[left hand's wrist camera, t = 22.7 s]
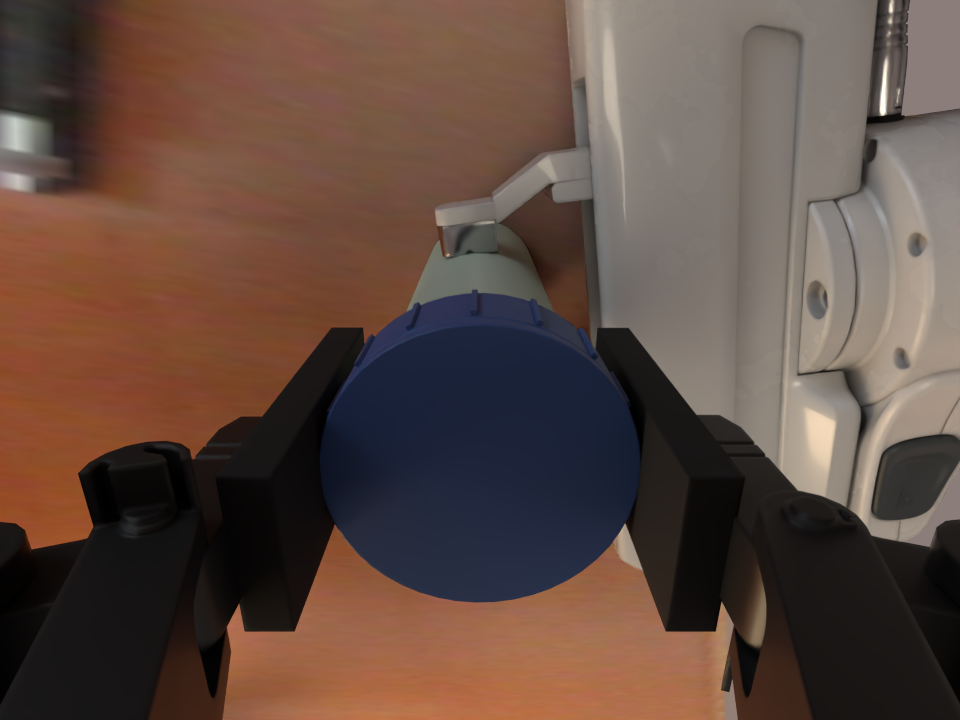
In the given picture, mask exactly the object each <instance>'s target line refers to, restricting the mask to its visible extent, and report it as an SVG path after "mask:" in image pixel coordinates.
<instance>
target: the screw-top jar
mask: <svg viewBox="0 0 960 720" xmlns="http://www.w3.org/2000/svg"><path fill="white" fill-rule="evenodd" d="M496 230H497V239H498V248H499V251H494V252H488V253H475V252H473V251H471V250H469V251H468V252H467V253H466V254H464V255H462V256H458V257H443V256H442V250H441V245H440V240H438V242H437V243H436V245H435V246H434V248H433V250H432V252H431V255H430V257H429V259H428V262H427V264H426V266H425V269H424V271H423V274H422V276H421V278H420V281H419V283H418V285H417V288H416V290H415V292H414V295H413V297H412V299H411V302H410V304H409V306H408V309H407V311H409V310H411V309H412V308H413V305H414V304H415V303H417V302H419V303H420V305H422V304H424V303H427V302H430V301H433V300H436V299H440V298H443V297H447V296H453V295H459V294H466V293H472V290H473V289H477V290H478V293H491V294H502V295H508V296H512V297H517V298H521V299H525V300H527V301H530V300H531V298H533V299H536V300H537V303H538V305H541V306H543V307H545V308H547V309H549V310H551V311H552V312H554V310H553V308H552V306H551V303H550V301H549V298H548V296H547V294H546V291H545V289H544V287H543V284H542V282H541V280H540V277H539V275H538V273H537V270H536V268H535V265H534V263H533V261H532V258H531V256H530V254H529V251H528V249H527V247H526V246H525V244H524V242H523V241H522V240H521V239H520V237H519V236H518V235H517V234H516V233H514V232H513V231H512V230H511V229H509V228H508V227H506V226H504V225H502V224H499V223H498V224H497V223H496ZM407 311H406V312H407Z"/></svg>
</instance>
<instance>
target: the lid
mask: <svg viewBox="0 0 960 720" xmlns="http://www.w3.org/2000/svg"><path fill="white" fill-rule="evenodd" d="M354 365H355V366H354V367H353V369H352V371H351V373H350V375H349V376H348V378H347V380H344V381H343V383H342V385H341V386H340V388H339V390H338V392H337V393H336V395H335V397H334V399H333V401H332V402H331V404H330V406H329V408H328V409H327V411H326V415H325V416H328V417H327V420H326V423H325V426H324V429H323V432H322V436H321V443H320V450H319V462H320V472H321V481H322V489H323V495H324V499H325V502H326V505H327V508H328V510H329V512H330V514H331V517H332V519H333V521H334V523H335V525H336V526H337V528H338V529H339V531H340V532H341V534H342V535H343V537H344V538H345V540H346V541H347V542H348V543H349V544H350V546H351V547H352V548H353V549H354V550H355V551H356V553H357V554H358V555H360V556H361V557H362V558H363V559H364V560H365V561H366V562H367V563H368V564H370V565H371V566H372V567H374V568H375V569H376V570H378V571H379V572H381V573H382V574H383V575H385V576H386V577H388V578H390V579H392V580H394V581H396V582H397V583H399V584H401V585H403V586H406V587H408V588H410V589H413V590H415V591H418V592H420V593H424V594H427V595H431V596H434V597H438V598H443V599H448V600H454V601H464V602H498V601H505V600H513V599H517V598H522V597H526V596H530V595H534V594H536V593H539V592H542V591H545V590H548V589H550V588H552V587H555V586H557V585H559V584H561V583H563V582H565V581H567V580H569V579H570V578H572V577H573V576H575V575H577V574H578V573H580V572H581V571H583V570H584V569H585V568H587V567H588V566H589V565H590V564H592V563H593V562H594V561H595V560H597V559H598V558H599V557H600V555H601V554H602V553H603V552H604V551H605V550H606V549H607V548H608V547H609V546H610V545H611V544H612V542H613V541H614V540H615V538H616V537H617V536H618V534H619V533H620V532H621V530H622V528H623V526H624V524H625V523H626V521H627V519H628V517H629V515H630V513H631V510H632V508H633V505H634V503H635V500H636V496H637V492H638V484H639V475H640V466H641V449H640V441H639V437H638V433H637V428H636V425H635V422H634V420H633V417H632V415H631V412H630V410H629V407H631V406H632V405H631V403H630V401H629V399H628V397H627V395H626V394H625V392H624V390H623V388H622V387H621V385H620V383H619V381H618V380H617V378H616V376H615V374H614V372H613V371H612V372H609V371H608V369H607V367H606V365H605V364H604V362H603V360H602V359H601V357H600V355H599V354H598V352H597V350H596V349H595V348H594V347H593V345H592V343H591V341H590V339H589V337H588V336H587V334H586V332H585V330H584V329H583V328H580V329H579V330H578V329H577V328H576V327H574V326H573V325H572V324H571V323H569V322H568V321H566V320H565V319H564V318H562V317H561V316H559V315H558V314H556V313H554V312H552V311H551V310H549V309H547V308H545V307H543V306H541V305H538V303H537V300H536V299H533V298H531V300H530V301H527V300H525V299H521V298H517V297H512V296H508V295H502V294H491V293H478V290H477V289H473V290H472V293H466V294H459V295H453V296H447V297H443V298H440V299H436V300H433V301H430V302H427V303H424V304H422V305H420V303H419V302H417V303H415V304H414V305H413V308H412V309H411V310H409V311H407V312H406V313H404V314H403V315H401V316H399V317H398V318H396V319H395V320H393V321H392V322H391V323H390V324H388V325H387V326H386V327H385V328H384V329H382V330H381V331H380V332H379V333H378V334H377V335H376V336H373V335H371V336H370V337H369V338H368V340H367V341H366V343H365V345H364V347H363V349H362V350H361V352H360V354H359V356H358V358H357V359H356V361H355V363H354Z"/></svg>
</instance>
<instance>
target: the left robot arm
mask: <svg viewBox="0 0 960 720" xmlns="http://www.w3.org/2000/svg"><path fill="white" fill-rule="evenodd" d="M363 347H364V333H363V328H331V329H330V331H329V332H328V333H327V334H326V336H325V337H324V338H323V340H322V341H321V342H320V343H319V345H318V346H317V347H316V348H315V350H314V351H313V352H312V354H311V355H310V356H309V357H308V359H307V360H306V361H305V363H304V364H303V365H302V366H301V368H300V369H299V370H298V372H297V373H296V374H295V375H294V377H293V378H292V379H291V381H290V382H289V383H288V384H287V386H286V387H285V388H284V390H283V391H282V392H281V393H280V395H279V396H278V397H277V399H276V400H275V401H274V402H273V404H272V405H271V406H270V408H269V409H268V410H267V411H266V413H265V414H264V415H263V417H240V418H238V419H236V420H235V421H233V422H231V423H229V424H228V425H226V426H224V427H223V428H221V429H219V430H218V431H217V433H216V434H215V435H214V436H213V437H212V438H211V439H210V440H209V442H208V443H207V444H206V447H203V448H202V449H201V451H200V452H199V453H198V454H197V455H196V458H195V459H192V458H191V453H190V449H188V448H187V447H185V446H184V445H182V444H180V443H174V442H169V441H156V442H144V443H139V444H134V445H129V446H125V447H123V448H120V449H117V450H114V451H111V452H108V453H106V454H104V455H102V456H100V457H99V458H97V459H95V460H93V461H91V462H90V463H88V464H87V465H86V466H85V467H84V468H83V469H82V470H81V471H80V472H79V473H78V475H79V478H80V482H81V485H82V489H83V492H84V495H85V499H86V502H87V506H88V509H89V513H90V516H91V519H92V523H93V526H94V527H93V529H92V531H91V533H90V535H89V537H88V538H87V539H83V540H79V541H74V542H69V543H63V544H58V545H53V546H48V547H42V548H37V549H32V550H31V547H30V544H29V541H28V538H27V535H26V532H25V530H24V529H23V528H21V527H20V526H18V525H17V524H15V523H5V522H0V720H222V717H223V710H224V702H225V694H226V687H227V679H228V671H229V664H230V656H231V649H230V642H229V637H228V632H227V626H228V624H229V622H230V620H231V618H232V616H233V614H234V612H235V610H236V608H237V606H238V604H240V609H241V615H242V620H243V625H244V630H245V631H295V629H296V626H297V624H298V621H299V618H300V616H301V613H302V610H303V608H304V605H305V602H306V600H307V597H308V594H309V592H310V589H311V586H312V584H313V581H314V578H315V576H316V573H317V570H318V568H319V565H320V562H321V560H322V557H323V554H324V552H325V549H326V546H327V544H328V541H329V538H330V536H331V533H332V530H333V528H334V525H335V523H334V521H333V519H332V517H331V514H330V512H329V510H328V508H327V505H326V502H325V499H324V495H323V489H322V481H321V472H320V462H319V450H320V443H321V436H322V432H323V429H324V426H325V423H326V420H327V417H328V416H325V415H326V411H327V409H328V408H329V406H330V404H331V402H332V401H333V399H334V397H335V395H336V393H337V392H338V390H339V388H340V386H341V385H342V383H343V381H344V380H347V378H348V376H349V375H350V373H351V371H352V369H353V367H354V366H355V365H354V363H355V361H356V359H357V358H358V356H359V354H360V352H361V350H362V349H363ZM596 350H597V352H598V354H599V355H600V357H601V359H602V360H603V362H604V364H605V365H606V367H607V369H608V371H609V372H612V371H613V372H614V374H615V376H616V378H617V380H618V381H619V383H620V385H621V387H622V388H623V390H624V392H625V394H626V395H627V397H628V399H629V401H630V403H631V405H632V406H631V407H629V410H630V412H631V415H632V417H633V420H634V422H635V425H636V428H637V433H638V437H639V441H640V449H641V466H640V475H639V484H638V492H637V496H636V500H635V503H634V505H633V508H632V510H631V513H630V515H629V517H628V519H627V521H626V523H625V524H626V527H627V529H628V532H629V535H630V537H631V540H632V543H633V545H634V548H635V551H636V553H637V556H638V559H639V561H640V564H641V567H642V569H643V572H644V575H645V577H646V580H647V583H648V585H649V588H650V591H651V593H652V596H653V599H654V601H655V604H656V607H657V609H658V612H659V615H660V617H661V620H662V623H663V625H664V628H665V631H715V632H716V627H717V622H718V617H719V611H720V606H721V601H722V603H723V604H724V606H725V608H726V610H727V612H728V614H729V616H730V618H731V620H732V622H733V624H734V627H733V632H732V637H731V642H730V646H729V651H728V656H727V661H726V666H725V670H724V675H723V681H722V688H721V690H723V691H727V692H729V691H730V686H731V681H732V679H733V685H734V693H735V701H736V708H737V716H738V720H960V520H950V521H945V522H944V523H942V524H941V525H939V526H938V527H937V528H936V531H935V534H934V537H933V539H932V543H931V545H930V547H927V546H921V545H916V544H911V543H906V542H900V541H895V540H890V539H885V538H880V537H876V536H872V535H871V534H870V532H869V530H868V528H867V526H866V525H865V524H864V523H863V521H862V520H861V519H860V518H859V517H858V516H857V514H855V513H854V512H852V511H851V510H849V509H848V508H846V507H845V506H843V505H842V504H840V503H837V502H835V501H833V500H830V499H828V498H826V497H823V496H820V495H816V494H812V493H808V492H804V491H798V490H797V489H796V488H795V486H794V485H793V484H792V483H791V482H790V481H789V480H788V479H787V478H786V476H785V475H784V474H783V473H782V472H781V471H780V470H779V469H778V468H777V466H776V465H775V464H774V463H773V462H772V461H771V460H770V459H769V458H768V457H765V453H764V452H763V451H762V450H761V449H760V448H759V446H758V445H755V444H754V441H753V440H752V439H751V438H750V436H749V435H748V434H747V433H746V432H745V431H744V430H743V429H742V428H741V427H740V426H738V425H736V424H735V423H733V422H731V421H729V420H728V419H726V418H724V417H722V416H721V415H696V413H695V412H694V411H693V410H692V408H691V407H690V406H689V404H688V403H687V402H686V401H685V399H684V398H683V397H682V395H681V394H680V393H679V392H678V390H677V389H676V388H675V387H674V385H673V384H672V383H671V381H670V380H669V379H668V378H667V376H666V375H665V374H664V372H663V371H662V370H661V369H660V367H659V366H658V365H657V363H656V362H655V361H654V360H653V358H652V357H651V356H650V354H649V353H648V352H647V351H646V349H645V348H644V347H643V345H642V344H641V343H640V342H639V340H638V339H637V338H636V336H635V335H634V334H633V333H632V331H631V330H630V329H629V328H597V338H596Z"/></svg>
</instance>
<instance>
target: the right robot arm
mask: <svg viewBox="0 0 960 720" xmlns="http://www.w3.org/2000/svg"><path fill="white" fill-rule="evenodd" d="M909 3H910V0H565V8H566V21H567V35H568V48H569V61H570V75H571V88H572V101H573V115H574V128H575V141H576V148H571V149H564V150H558V151H551V152H545V153H540V154H539V155H538V156H536V157H535V158H534V159H533V160H531V161H530V162H529V163H528V164H526V165H525V166H524V167H523V168H521V169H520V170H519V171H518V172H517V173H515V174H514V175H513V176H512V177H510V178H509V179H508V180H507V181H505V182H504V183H503V184H502V185H500V186H499V187H498V188H497V189H496V190H494V191H493V192H492V196H491V197H484V198H478V199H471V200H464V201H457V202H450V203H446V204H442V205H438V206H436V208H435V216H436V223H437V229H438V234H439V240H440V245H441V250H442V256H443V257H458V256H462V255H464V254H466V253H467V252H468V251H469V250H471V251H473V252H475V253H488V252H494V251H499V248H498V239H497V230H496V223H497V224H498V223H500V222H501V221H502V220H503V219H505V218H506V217H507V216H509V215H510V214H511V213H513V212H514V211H515V210H516V209H518V208H519V207H520V206H522V205H523V204H524V203H525V202H527V201H528V200H529V199H531V198H532V197H533V196H535V195H536V194H537V193H538V192H540V191H541V190H542V189H544V188H545V194H546V195H548V196H549V197H550V198H551V199H552V200H553V201H554V202H556V203H565V202H573V201H580V208H581V221H582V235H583V248H584V261H585V275H586V288H587V301H588V315H589V328H590V341H591V343H592V345H593V347H594V348H595V349H596V338H597V328H629V329H630V330H631V331H632V333H633V334H634V335H635V336H636V338H637V339H638V340H639V342H640V343H641V344H642V345H643V347H644V348H645V349H646V351H647V352H648V353H649V354H650V356H651V357H652V358H653V360H654V361H655V362H656V363H657V365H658V366H659V367H660V369H661V370H662V371H663V372H664V374H665V375H666V376H667V378H668V379H669V380H670V381H671V383H672V384H673V385H674V387H675V388H676V389H677V390H678V392H679V393H680V394H681V395H682V397H683V398H684V399H685V401H686V402H687V403H688V404H689V406H690V407H691V408H692V410H693V411H694V412H695V413H696V415H721V416H722V417H724V418H726V419H728V420H729V421H731V422H733V423H735V424H736V425H738V426H740V427H741V428H742V429H743V430H744V431H745V432H746V433H747V434H748V435H749V436H750V438H751V439H752V440H753V441H754V444H755V445H758V446H759V448H760V449H761V450H762V451H763V452H764V453H765V457H768V458H769V459H770V460H771V461H772V462H773V463H774V464H775V465H776V466H777V468H778V469H779V470H780V471H781V472H782V473H783V474H784V475H785V476H786V478H787V479H788V480H789V481H790V482H791V483H792V484H793V485H794V486H795V488H796V489H797V490H798V491H804V492H808V493H812V494H816V495H820V496H823V497H826V498H828V499H830V500H833V501H835V502H837V503H840V504H842V505H843V506H845V507H846V508H848V509H849V510H851V511H852V512H854V513H855V514H857V516H858V517H859V518H860V519H861V520H862V521H863V523H864V524H865V525H866V526H867V528H868V530H869V532H870V534H871V535H872V536H876V537H880V538H885V539H890V540H895V541H900V542H905V541H908V540H910V539H913V538H914V537H916V536H917V535H919V534H920V533H921V532H922V531H923V530H924V528H925V527H926V526H927V524H928V523H929V521H930V520H931V518H932V516H933V515H934V513H935V511H936V509H937V507H938V506H939V504H940V502H941V500H942V498H943V496H944V495H945V493H946V491H947V489H948V488H949V486H950V484H951V483H952V481H953V479H954V477H955V476H956V474H957V473H958V471H959V469H960V109H954V110H948V111H941V112H934V113H927V114H920V115H913V116H904V115H902V116H901V112H902V103H903V95H904V86H905V77H906V68H907V54H908V46H906V44H907V43H908V36H907V35H906V33H907V28H908V25H907V24H906V22H907V21H908V13H907V11H908V10H909ZM495 219H496V221H495ZM613 543H614V546H615V549H616V551H617V554H618V556H619V558H620V559H621V560H622V561H624V562H625V563H627V564H629V565H631V566H633V567H635V568H637V569H639V570H641V571H643V569H642V567H641V564H640V561H639V559H638V556H637V553H636V551H635V548H634V545H633V543H632V540H631V537H630V535H629V532H628V529H627V527H626V524H624V526H623V528H622V530H621V532H620V533H619V534H618V536H617V537H616V538H615V540H614V541H613Z"/></svg>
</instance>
